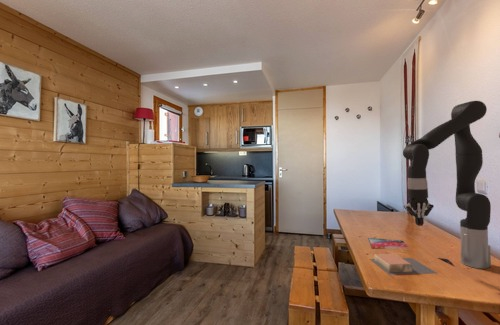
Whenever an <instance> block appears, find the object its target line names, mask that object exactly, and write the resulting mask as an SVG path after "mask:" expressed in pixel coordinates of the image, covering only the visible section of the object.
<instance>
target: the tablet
mask: <svg viewBox="0 0 500 325" xmlns="http://www.w3.org/2000/svg"><path fill="white" fill-rule="evenodd" d="M367 238H368V242H369V245H370V247H371V250H385V249H387V250H388V249H409V246H408V245H407V244H406V243H405V242H404V240H400V239H399V240H397V239H387V238H375V237H367Z"/></svg>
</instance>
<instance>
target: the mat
mask: <svg viewBox="0 0 500 325" xmlns="http://www.w3.org/2000/svg"><path fill="white" fill-rule="evenodd" d="M401 258H402V259H404V260H405V261H407V262H409V263H410V264H412V272H388V271H387V270H386V269H384V268H383V267H382V266H380V265H379V264H378V263H377V262H375V261H374V258H369V261H371V262H372V263H373V264H374V265H376V266H377V267H379V269H381V270H382V271H383V272H385V273H386V274H387V275H393V276H394V275H420V274H421V275H422V274H424V275H425V274H427V275H428V274H438V272H436V271H435V270H434V269H432V268H430V267H429V266H427V265H425V264H423V263H421V262H419V261H417V260H416V259H414V258H412V257H401Z"/></svg>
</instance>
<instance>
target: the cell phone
mask: <svg viewBox="0 0 500 325" xmlns="http://www.w3.org/2000/svg"><path fill="white" fill-rule="evenodd" d="M437 259H438V260H441V261H442V262H444V263H446V264H448V265H450V266H452V267H454V263H452V262H451V261H450V260H449V259H447V258H440V257H439V258H438V257H437Z"/></svg>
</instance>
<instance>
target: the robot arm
mask: <svg viewBox="0 0 500 325" xmlns="http://www.w3.org/2000/svg"><path fill="white" fill-rule="evenodd" d="M486 113H487V105H486V104H485V103H484V102H483V101H482V100H471V101H467V102H464V103H459V104H456V105H455V106H454V107H453V108H452V110H451V113H450V117H451V119H449V120H448V121H445V122H444V123H442V124H439V125H438V126H436V127H434V128H433V129H431V130H429V131H428V132H426V134H424V135H423V136H422V137H421V138H418V139H416V140H414V141H413V142H411V143H409V144H407V145H406V146H405V147H404V149H403V150H402V155H403V157H404V158H405V159H406V160H409V161H412V163H411V165H408V166H407V167H406V168H407V170H406V172H407V197H408V201H407V204H404V205H403V208H404V209H405V210H406V212H407V213H408V214H409V215H410V216H412V217H414V220H415V225H417V226H418V227H421V226H423V225H424V222H425V221H424V220H425V219H424V218H425V217H428V216H429V214H430V213H431V211H432V210H433V209H434V204H431V203H430V202H429V200H428V199H429V191H428V190H429V188H428V185H429V184H428V180H427V170H426V169H427V166H428V161H429V158H430V150H433V149H435V148H437V147H438V146H439V145H441V144H443V142H445V141H446V140H447V139H449V138H451V137H452V136H454V146H455V155H454V156H455V164H456V166H455V168H456V186H455V187H456V188H455V204H456V206H457V208H459V210H461V211H464V212H466V217H465V218H462V219H460V221H459V227H460V228H459V229H460V231H459V232H460V261H461V264H463V265H465V266H468V267H471V268H475V269H483V270H485V269H488V268H491V267H492V265H491V264H492V263H491V262H492V259H491V258H492V257H491V255H492V254H491V245H490V244H489V229H488V227H489V225H490V223H491V209H492V208H491V201H490V199H489V198H488V196H486V195H485V194H482V193H476V187H475V186H476V180H477V177H478V175H479V173H480V172H481V169H482V168H483V163H484V162H483V160H484V159H483V149H482V147H481V146H480V144H479V143H478V142H477V140H476V139H475V138H474V136H473V135H472V133H471V132H472V131H471V127H470V126H471V124H474V123H475V122H477V121H480V120H482V118H483V117H484V116H485V115H486Z"/></svg>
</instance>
